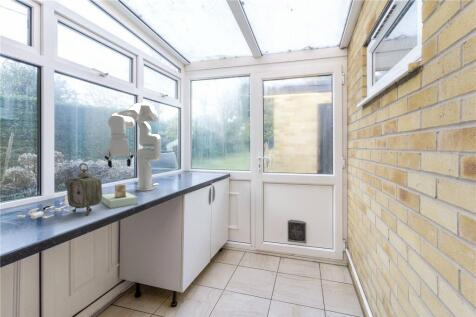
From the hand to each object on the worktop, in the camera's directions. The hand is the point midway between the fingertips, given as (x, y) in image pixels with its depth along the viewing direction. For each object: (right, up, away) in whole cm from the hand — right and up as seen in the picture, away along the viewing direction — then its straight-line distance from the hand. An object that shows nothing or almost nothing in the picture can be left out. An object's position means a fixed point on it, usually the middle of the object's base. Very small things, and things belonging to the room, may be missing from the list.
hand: (119, 166), depth 131 cm
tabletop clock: (-8, -23, -16) cm, 29 cm away
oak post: (0, -21, +1) cm, 22 cm away
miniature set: (-22, -23, -12) cm, 34 cm away
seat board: (-2, -21, +3) cm, 22 cm away
